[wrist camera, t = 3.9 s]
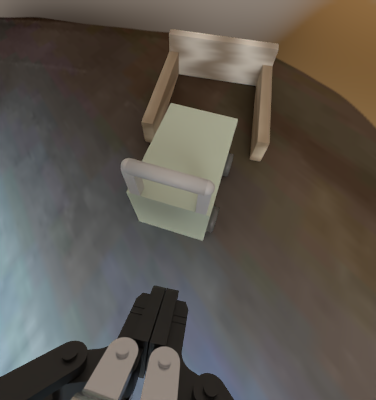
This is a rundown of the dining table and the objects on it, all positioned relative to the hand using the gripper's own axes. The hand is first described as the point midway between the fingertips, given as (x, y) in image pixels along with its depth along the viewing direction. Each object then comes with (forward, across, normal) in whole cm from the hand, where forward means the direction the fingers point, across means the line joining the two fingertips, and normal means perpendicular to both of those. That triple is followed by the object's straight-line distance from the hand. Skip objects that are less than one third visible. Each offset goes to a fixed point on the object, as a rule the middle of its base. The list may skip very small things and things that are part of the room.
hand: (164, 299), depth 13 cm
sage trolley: (+12, +1, -4) cm, 13 cm away
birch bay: (+20, 0, -12) cm, 24 cm away
